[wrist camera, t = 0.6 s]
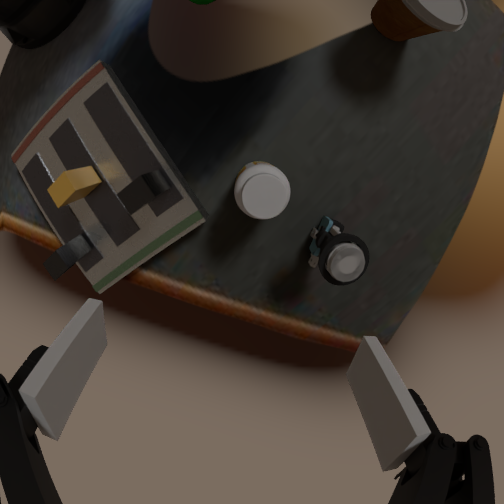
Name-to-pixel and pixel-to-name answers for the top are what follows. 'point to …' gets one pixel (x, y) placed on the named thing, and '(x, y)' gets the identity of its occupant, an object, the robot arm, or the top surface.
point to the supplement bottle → (261, 190)
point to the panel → (106, 181)
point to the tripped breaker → (73, 185)
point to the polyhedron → (202, 1)
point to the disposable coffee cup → (417, 17)
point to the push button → (338, 253)
